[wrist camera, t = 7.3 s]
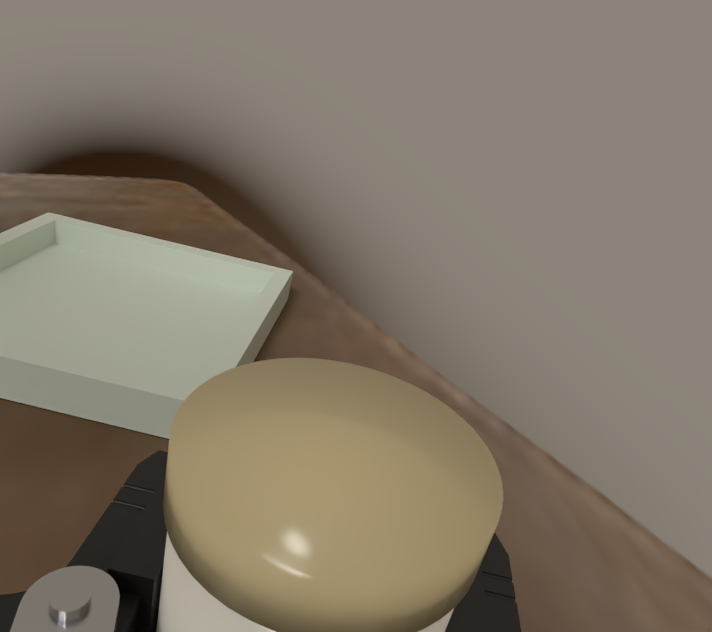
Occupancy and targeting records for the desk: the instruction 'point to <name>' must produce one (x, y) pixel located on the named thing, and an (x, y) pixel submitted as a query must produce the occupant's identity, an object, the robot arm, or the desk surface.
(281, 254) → the desk surface
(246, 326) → the parts tray
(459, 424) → the cartridge fuse
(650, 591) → the desk surface
